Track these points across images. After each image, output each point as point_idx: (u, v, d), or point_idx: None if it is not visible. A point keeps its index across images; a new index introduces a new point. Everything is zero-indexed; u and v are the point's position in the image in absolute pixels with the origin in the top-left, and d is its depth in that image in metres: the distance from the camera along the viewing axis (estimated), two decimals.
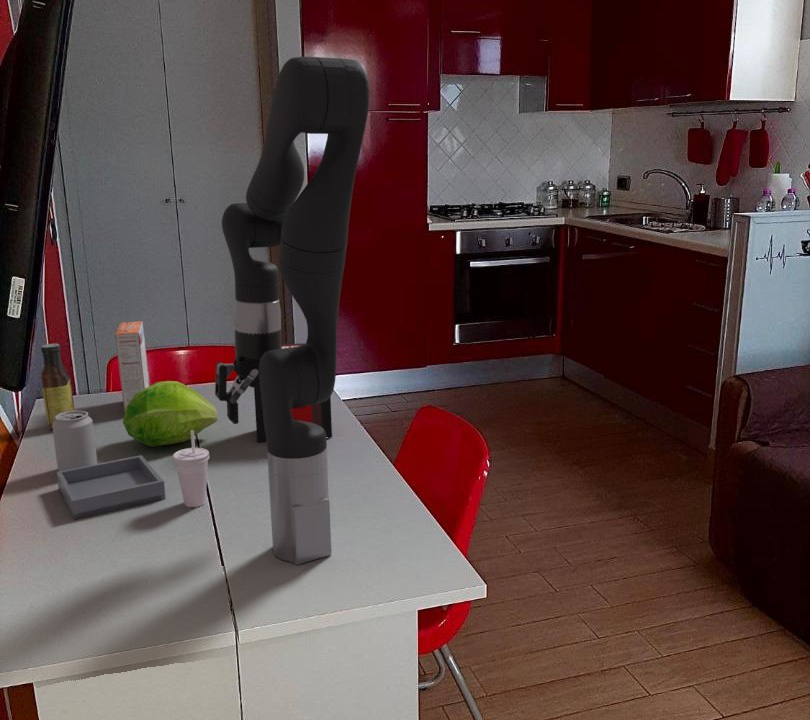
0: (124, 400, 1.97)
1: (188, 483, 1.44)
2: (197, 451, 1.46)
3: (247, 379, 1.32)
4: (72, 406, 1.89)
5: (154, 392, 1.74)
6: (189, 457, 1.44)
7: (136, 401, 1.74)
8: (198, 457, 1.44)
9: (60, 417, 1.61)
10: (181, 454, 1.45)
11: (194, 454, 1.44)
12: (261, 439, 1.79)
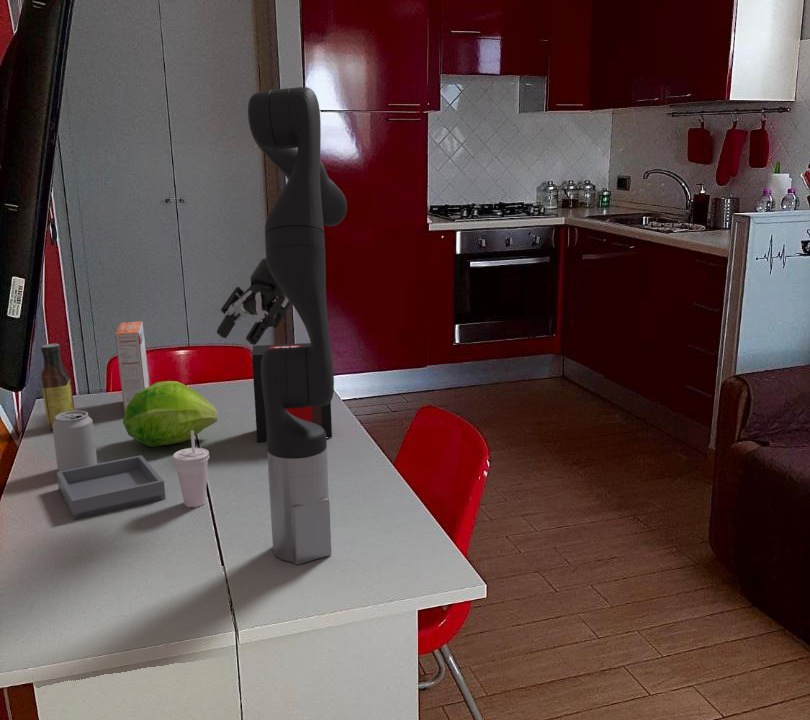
0: (124, 400, 1.97)
1: (188, 483, 1.44)
2: (197, 451, 1.46)
3: (242, 298, 1.52)
4: (72, 406, 1.89)
5: (155, 391, 1.74)
6: (189, 457, 1.44)
7: (136, 401, 1.74)
8: (198, 457, 1.44)
9: (60, 417, 1.61)
10: (181, 454, 1.45)
11: (194, 454, 1.44)
12: (261, 439, 1.79)
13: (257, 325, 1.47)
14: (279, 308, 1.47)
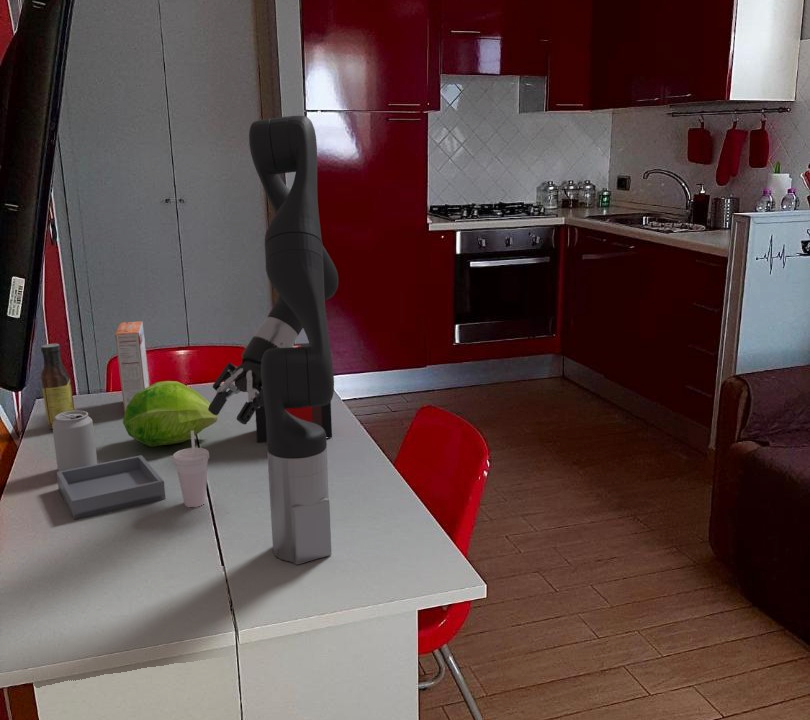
0: (124, 400, 1.97)
1: (188, 483, 1.44)
2: (197, 451, 1.46)
3: (234, 375, 1.53)
4: (72, 406, 1.89)
5: (154, 391, 1.74)
6: (189, 457, 1.44)
7: (136, 401, 1.74)
8: (198, 457, 1.44)
9: (60, 417, 1.61)
10: (181, 454, 1.45)
11: (194, 454, 1.44)
12: (261, 439, 1.79)
13: (248, 405, 1.48)
14: None
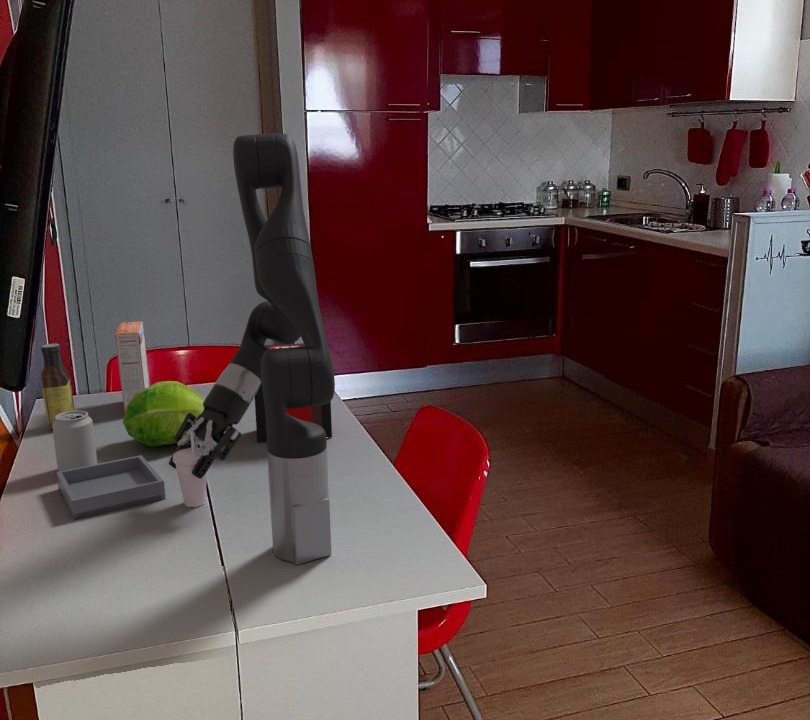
0: (124, 400, 1.97)
1: (187, 483, 1.44)
2: (197, 451, 1.46)
3: (195, 425, 1.48)
4: (72, 406, 1.89)
5: (154, 391, 1.74)
6: (189, 457, 1.44)
7: (136, 401, 1.74)
8: (198, 457, 1.44)
9: (60, 417, 1.61)
10: (181, 454, 1.45)
11: (194, 454, 1.44)
12: (261, 439, 1.79)
13: (203, 458, 1.43)
14: (227, 442, 1.43)
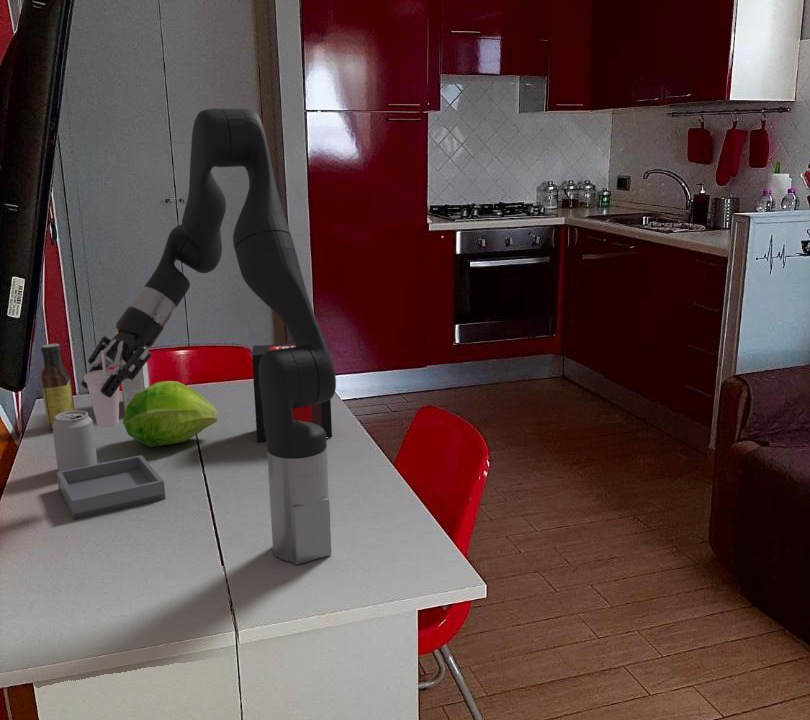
0: (124, 400, 1.97)
1: (98, 403, 1.46)
2: (109, 371, 1.48)
3: (107, 347, 1.49)
4: (72, 406, 1.89)
5: (154, 391, 1.74)
6: (99, 376, 1.45)
7: (136, 401, 1.74)
8: (108, 376, 1.45)
9: (60, 417, 1.61)
10: (92, 374, 1.47)
11: (105, 374, 1.46)
12: (261, 439, 1.79)
13: (112, 377, 1.45)
14: (136, 361, 1.44)
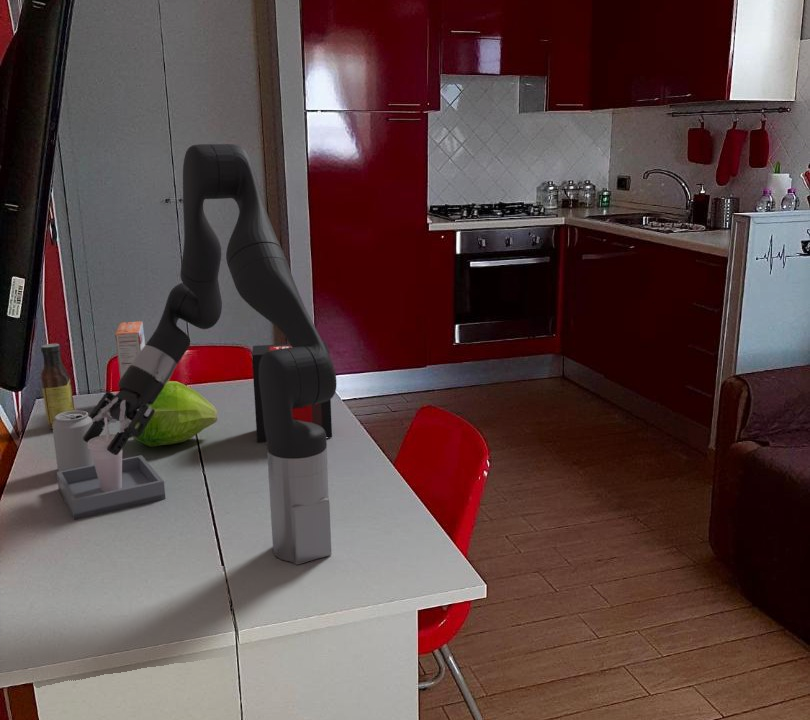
0: None
1: (102, 469, 1.49)
2: (112, 437, 1.51)
3: (109, 404, 1.52)
4: (72, 406, 1.89)
5: None
6: (103, 443, 1.48)
7: None
8: None
9: (60, 417, 1.61)
10: (96, 440, 1.50)
11: (108, 440, 1.49)
12: (261, 439, 1.79)
13: (119, 435, 1.47)
14: (141, 418, 1.47)
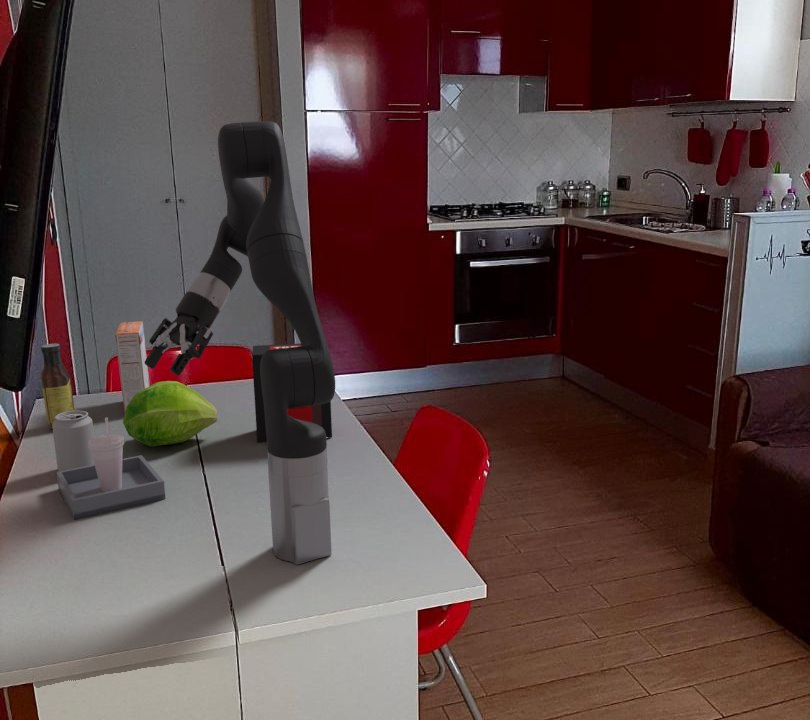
0: (124, 400, 1.97)
1: (102, 469, 1.49)
2: (112, 437, 1.51)
3: (168, 329, 1.58)
4: (72, 406, 1.89)
5: (155, 391, 1.74)
6: (103, 443, 1.48)
7: (136, 401, 1.74)
8: (112, 443, 1.48)
9: (60, 417, 1.61)
10: (96, 440, 1.50)
11: (108, 440, 1.49)
12: (261, 439, 1.79)
13: (180, 356, 1.53)
14: (201, 339, 1.53)
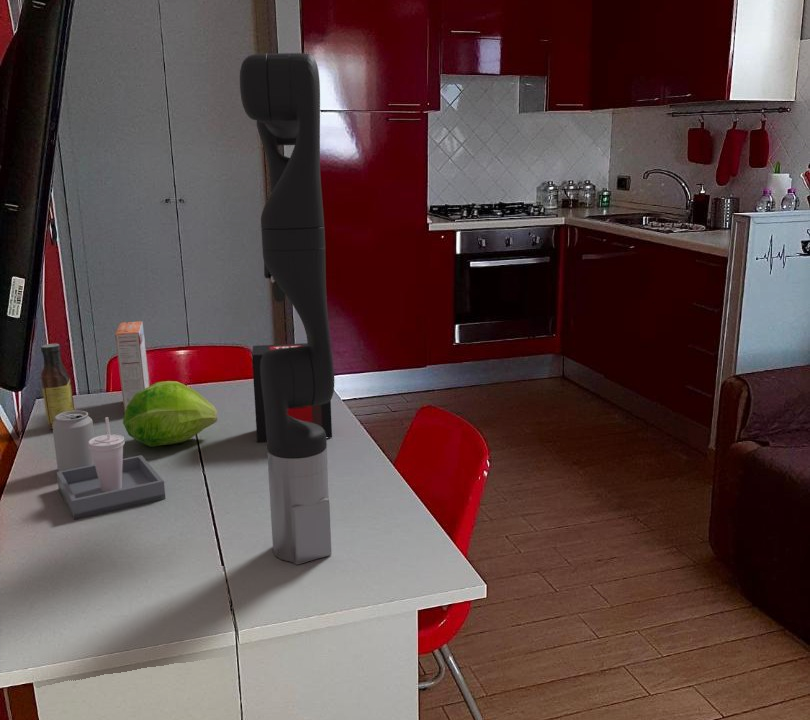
0: (124, 400, 1.97)
1: (102, 469, 1.49)
2: (112, 437, 1.51)
3: None
4: (72, 406, 1.89)
5: (154, 391, 1.74)
6: (103, 443, 1.48)
7: (136, 401, 1.74)
8: (112, 443, 1.48)
9: (60, 417, 1.61)
10: (96, 440, 1.49)
11: (109, 440, 1.49)
12: (261, 439, 1.79)
13: None
14: None
